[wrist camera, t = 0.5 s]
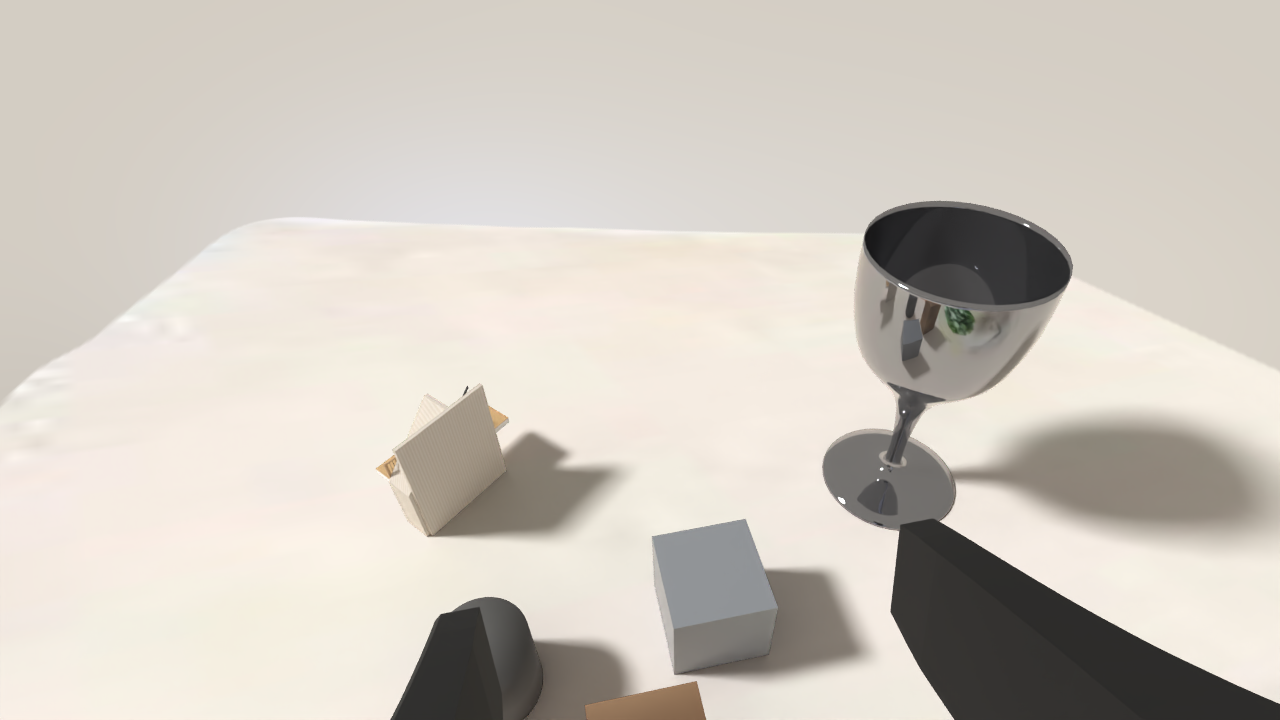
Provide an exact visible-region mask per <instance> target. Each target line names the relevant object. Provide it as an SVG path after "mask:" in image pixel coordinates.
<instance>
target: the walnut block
mask: <svg viewBox="0 0 1280 720" xmlns="http://www.w3.org/2000/svg"><path fill="white" fill-rule="evenodd" d="M585 711H586V719H587V720H706V717H705V713H704V709H703V705H702V701H701V697H700V693H699V689H698V685H697V681H695V682H691V683H686V684H681V685H677V686H672V687H667V688H663V689H658V690H653V691H649V692H644V693H639V694H635V695H630V696H625V697H621V698H616V699H611V700H607V701H602V702H597V703H593V704H588V705H585Z"/></svg>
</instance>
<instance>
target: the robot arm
mask: <svg viewBox="0 0 1280 720" xmlns="http://www.w3.org/2000/svg"><path fill="white" fill-rule="evenodd" d="M891 614H892V616H893V617H894V619H895V621H896V623H897V625H898V627H899V629H900V631H901V633H902V635H903V637H904V639H905V641H906V643H907V645H908V647H909V649H910V651H911V653H912V654H913V656H914V658H915V660H916V662H917V664H918V665H919V667H920V669H921V671H922V672H923V674H924V675H925V677H926V678H927V680H928V681H929V683H930V684H931V686H932V687H933V689H934V690H935V692H936V693H937V695H938V696H939V698H940V699H941V701H942V702H943V703H944V705H945V706H946V708H947V709H948V711H949V712H950V714H951V715H952V717H953V718H954V720H1280V704H1279V703H1276V702H1274V701H1271V700H1269V699H1267V698H1264V697H1262V696H1260V695H1258V694H1255V693H1253V692H1251V691H1248V690H1246V689H1244V688H1242V687H1239V686H1237V685H1235V684H1233V683H1230V682H1228V681H1226V680H1224V679H1222V678H1220V677H1218V676H1216V675H1214V674H1211V673H1209V672H1207V671H1205V670H1203V669H1201V668H1199V667H1197V666H1194V665H1192V664H1190V663H1188V662H1186V661H1184V660H1182V659H1180V658H1178V657H1175V656H1173V655H1171V654H1169V653H1167V652H1165V651H1163V650H1161V649H1159V648H1157V647H1155V646H1153V645H1152V644H1150V643H1148V642H1146V641H1144V640H1142V639H1140V638H1138V637H1136V636H1134V635H1133V634H1131V633H1129V632H1127V631H1125V630H1123V629H1121V628H1119V627H1118V626H1116V625H1114V624H1112V623H1110V622H1108V621H1106V620H1105V619H1103V618H1101V617H1099V616H1097V615H1095V614H1094V613H1092V612H1090V611H1088V610H1087V609H1085V608H1083V607H1081V606H1079V605H1078V604H1076V603H1074V602H1072V601H1071V600H1069V599H1067V598H1065V597H1064V596H1062V595H1060V594H1059V593H1057V592H1055V591H1053V590H1052V589H1050V588H1048V587H1047V586H1045V585H1043V584H1042V583H1040V582H1038V581H1036V580H1035V579H1033V578H1031V577H1030V576H1028V575H1027V574H1025V573H1023V572H1022V571H1020V570H1018V569H1017V568H1015V567H1013V566H1012V565H1010V564H1008V563H1007V562H1005V561H1003V560H1002V559H1000V558H999V557H997V556H995V555H994V554H992V553H990V552H989V551H987V550H985V549H984V548H982V547H981V546H979V545H977V544H976V543H974V542H972V541H971V540H969V539H967V538H966V537H964V536H963V535H961V534H959V533H958V532H956V531H954V530H953V529H951V528H949V527H947V526H946V525H944V524H942V523H941V522H939V521H937V520H935V519H933V518H932V519H926V520H921V521H916V522H911V523H906V524H901V525H900V531H899V540H898V549H897V558H896V567H895V576H894V585H893V594H892V603H891ZM391 720H503V703H502V691H501V688H500V684H499V680H498V676H497V672H496V668H495V664H494V661H493V657H492V653H491V649H490V645H489V641H488V637H487V634H486V630H485V626H484V622H483V618H482V614H481V610H480V607H475V608H470V609H465V610H460V611H455V612H450V613H444V614H441V615H440V616H439V617H438V618H437V619H436V621H435V622H434V625H433V628H432V630H431V633H430V635H429V638H428V640H427V642H426V645H425V647H424V649H423V652H422V654H421V656H420V659H419V661H418V663H417V665H416V668H415V670H414V672H413V674H412V676H411V679H410V681H409V683H408V685H407V687H406V689H405V692H404V694H403V696H402V698H401V700H400V702H399V704H398V706H397V708H396V710H395V712H394V714H393V716H392V718H391Z"/></svg>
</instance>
